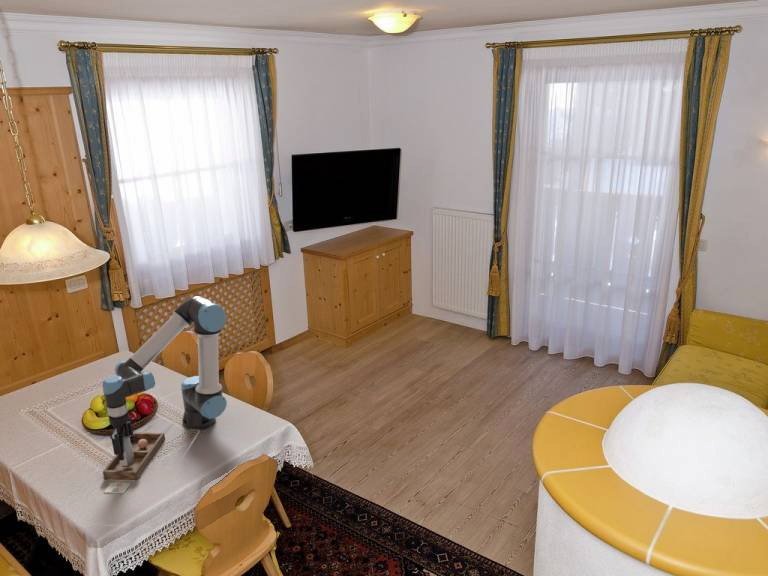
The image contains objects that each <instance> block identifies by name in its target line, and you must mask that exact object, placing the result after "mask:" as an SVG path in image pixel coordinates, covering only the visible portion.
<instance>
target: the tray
mask: <svg viewBox="0 0 768 576" xmlns="http://www.w3.org/2000/svg"><path fill="white" fill-rule="evenodd" d="M133 434H134V439H132V440H134V443H132V448H133V454H134V457H133V458H134V464H133V465H131V466H129V467H122V466H121V465H120V460H119V456H118V455H114V457H113V458H112V459H111V460H110V462H109V463H108V464H107V466H105V468H104V469H103V471H102V474H103V478H104V480H107V481H134V482H135V481H137V482H138V481H139V480H140V478H141V477H140V476H141V474H142V473H143V471H144V469H145V468H146V466H147V465H148V464H149V462H150V461H151V459H152V458H153V457H154V456H155V454H156V452H157V451H158V449H159V448H160V447H161V446H162V444H163V442H164V441H165V439H166V436H165V433H164V432H134V431H133ZM141 439H145V440H146V441H147V446H146V447H145V448H139V447H138V441H139V440H141Z"/></svg>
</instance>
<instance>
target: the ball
mask: <svg viewBox="0 0 768 576" xmlns="http://www.w3.org/2000/svg"><path fill="white" fill-rule="evenodd" d="M146 446H147V441H146V440H145V439H141V440H139V441H138V447H139V448H145V447H146Z"/></svg>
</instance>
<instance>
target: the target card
mask: <svg viewBox="0 0 768 576" xmlns="http://www.w3.org/2000/svg"><path fill="white" fill-rule="evenodd" d="M130 485H131V483H130V482H113V481H112V482H110V484H109V485H108V486H107V487H106V489H105V490H104V492H103V493H104V494H123V495H124V493H125V492H126V490H127V489H128V488H129V487H130Z"/></svg>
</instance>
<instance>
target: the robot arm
mask: <svg viewBox="0 0 768 576" xmlns="http://www.w3.org/2000/svg"><path fill="white" fill-rule="evenodd" d="M226 321H227V313H226V312H225V309H224V308H223V307H222V306H220V304H218V303H216V302H214V301H212V300H210V299H208V298H207V297H205V296H202V295H196V296H191V297H190V298H188V299H186V300H185V301H183V302H182V303H181V304H179V306H177V307H176V308H175V309H174V310H173V311H172V316H170V318H169V319H168V320H166V321H165V322H164V323H163V325H162V326H160V327H159V328H158V329H157V330H156V331H155V332H154V333H153V334H152V336H151V337H150V338H148V339H147V340H146V342H144V343H143V345H141V347H139V348H138V349H137V350H136V351H135V352H134V353H133V354H132V355H131V356H130V357H129V358H128V359H127V360H122V361H119V362H118V363H117V364H116V366H115V367H114V373H115V375H112V376H109V377H106V378H105V379H104V380H103V381H102V392H103V397H104V402H105V405H106V406H105V407H106V410H107V414H108V421H109V424H110V425H111V426H112V427H113V433H111V434H110V435H109V438H110V439H111V444H112V448H113V449H112V450H113V454H114V456H116V455H118V456H119V460H120V465H121V466H127V465H128V463H127V458H126V453H125V451H124V442H123V437H124V436H129V437H130V442H131V447H132V443H134V440H132V439H134V434H133V433H134V430H133V424H132V418H131V417H130V413H129V407H128V402H127V398H129V397H131V396H135V395H137V394H141V393H144V392H146V391H149V390H151V389H153V388H155V386H156V379H155V376H154V374H153V373H152V371H150V370H146V371H143V370H145V369H146V368H147V366H148V365H149V364H150V363H151V362H152V361H153V360H154V359H155V358H157V356H158V355H159V354H160V353H162V352H163V350H164V349H165V348H166V347H167V346H169V344H170V343H171V342H172V341H173V340H174V339H175V338H176V337H177V336H178V335H180V333H181V332H182V331H183V330H184V329H186V327H187V328H188V327H190V326H191V325H192V324H193V332H194V334H195V335H197V352H198V353H197V355H198V357H197V358H198V360H197V361H198V365H197V366H198V375H193V376H191V377H187V378H185V379H184V380H182V382H181V385H180V386H181V388H180V390H181V394H182V400H183V401H182V403H183V409H184V411H183V415H182V420H181V422H182V426H183V427H185V428H188V429H191V430H192V429H193V430H196V429H199V430H198V431H201V430H205V429H208V428H209V427H211V426H212V425H214V424H215V422H216V418H218V417H220V416H221V415H222V414H223V413H224V412H225V410H226V408H227V405H228V403H227V402H228V401H227V400H226V397H225V396H223V386H222V384H221V383H219V381H220V379H219V377H220V376H219V375H220V372H219V335H220V334H221V333H222V329H223V327H224V326H225V324H226ZM132 453H133V448H132ZM133 457H134V454H133Z"/></svg>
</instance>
